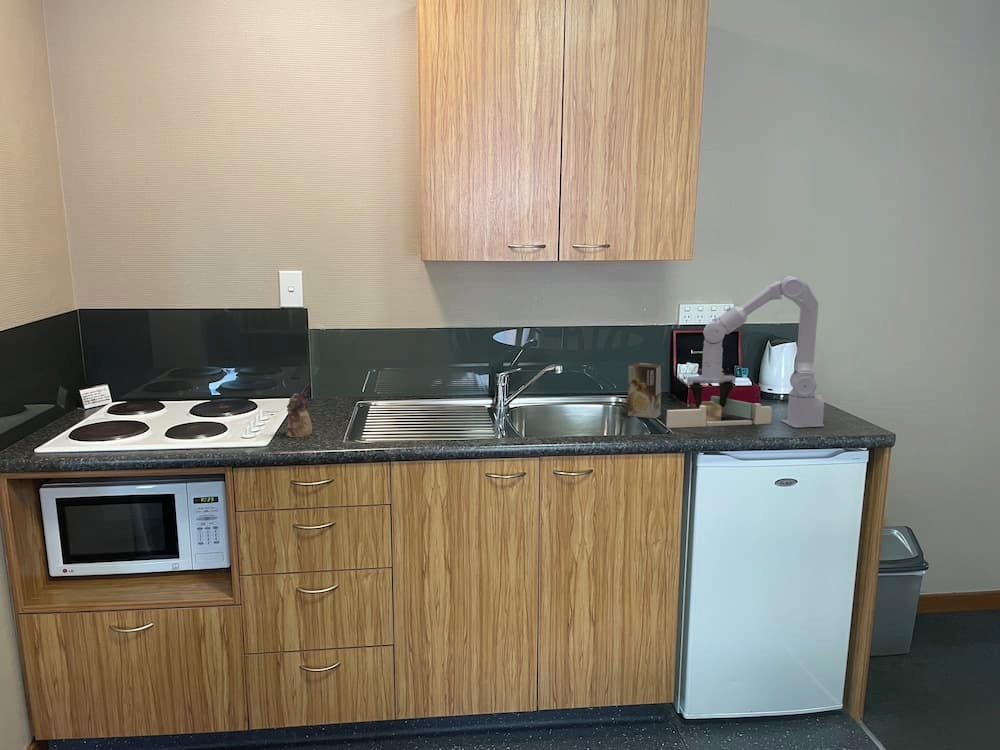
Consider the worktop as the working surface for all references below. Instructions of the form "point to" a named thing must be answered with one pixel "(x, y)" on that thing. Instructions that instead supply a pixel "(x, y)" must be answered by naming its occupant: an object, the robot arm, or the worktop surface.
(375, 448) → the worktop surface
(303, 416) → the figurine
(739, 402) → the door
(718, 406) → the doorstop
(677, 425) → the door frame
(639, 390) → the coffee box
